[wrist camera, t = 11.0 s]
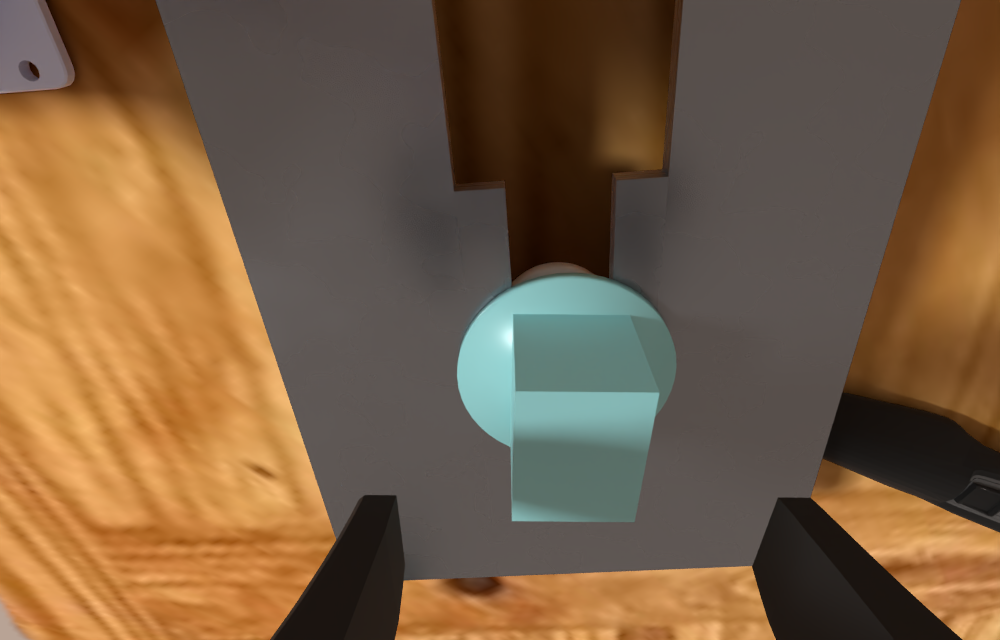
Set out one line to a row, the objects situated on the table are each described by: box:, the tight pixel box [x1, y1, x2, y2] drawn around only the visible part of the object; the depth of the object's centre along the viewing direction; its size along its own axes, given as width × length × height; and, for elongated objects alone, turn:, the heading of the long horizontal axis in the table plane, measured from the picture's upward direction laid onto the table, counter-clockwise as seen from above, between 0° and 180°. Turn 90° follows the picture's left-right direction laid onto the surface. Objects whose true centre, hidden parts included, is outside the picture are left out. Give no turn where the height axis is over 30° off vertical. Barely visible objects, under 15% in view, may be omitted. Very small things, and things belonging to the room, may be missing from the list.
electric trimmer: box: [823, 392, 1000, 532], centre depth 22 cm, size 4×16×3 cm, turn 67°
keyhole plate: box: [156, 0, 961, 580], centre depth 17 cm, size 16×22×4 cm
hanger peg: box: [457, 262, 676, 522], centre depth 16 cm, size 6×6×7 cm
